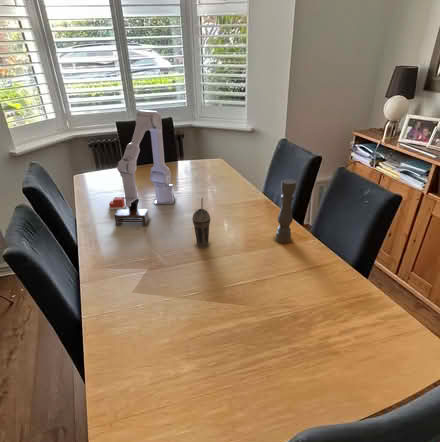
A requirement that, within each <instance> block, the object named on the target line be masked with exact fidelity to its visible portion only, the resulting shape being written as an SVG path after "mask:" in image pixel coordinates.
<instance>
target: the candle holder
mask: <svg viewBox="0 0 440 442" xmlns="http://www.w3.org/2000/svg"><path fill="white" fill-rule="evenodd" d="M296 190H297V180H295V179H293V178H284V179H282V180H281V181H280V191H281V195H280V199H281V208H280V210H279V213H278V215H277V222H278V227H277V228H276V232H275V241H276V242H278V243H280V244H287V243H290V242H291V239H292V238H291V237H292V232H291V231H292V229H291V227H290V226H291V225H292V223H293V220H294V218H293V211H292V209H293V208H292V205H293V204H292V203H293V200H294V199H295V195H294V194H295V192H296Z"/></svg>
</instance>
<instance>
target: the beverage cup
mask: <svg viewBox="0 0 440 442" xmlns="http://www.w3.org/2000/svg"><path fill="white" fill-rule="evenodd" d="M200 199H201V203H200V204H201V207H200V208H199V209H196V210H195V211H194V213H193V214H192V224H193V227H194V234H195V241H196V246H197V247H198V248H200V249H201V248H208V246H209V240H210V239H209V238H210V237H209V236H210V224H211V216H210V212H208V211H207V210H206V209H204V208H203V205H204V198H203V197H201V198H200Z"/></svg>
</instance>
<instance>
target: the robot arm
mask: <svg viewBox="0 0 440 442" xmlns="http://www.w3.org/2000/svg"><path fill="white" fill-rule="evenodd" d="M134 121H135V128H134V132H133V135H132V138H131V142H130V143H127V145H126V147H125V150H124V153H123V156H122V158H121V159H120V160H119V161H118V162H117V167H116V169H117V171H118V172H119V176H120V177H121V181H122V186H123V191H124V195H123V196H122V197H123V199H124V202H125V205H126V207H127V208H128V209H138V206H139V205H138V204H139V202H140V199H139V194H138V189H137V181H136V175H135V173H136V172H137V161H138V157H139V154H140V152H141V149H140V143H141V142H142V140H143V138H144V135H145V133H146V132H147V131H149V132H150V139H151V140H150V141H151V149H152V150H151V151H152V159H153V166H151V168H150V174H149V179H150V182H151V183H152V185H153V186H154V193H155V201H154V204H155V205H159V204H160V205H169V204H170V205H173V204H174V202H175V190H174V184H171V182H172V179H173V177H172V174H171V168H169V167H168V166H167V165H166V164H165V151H164V139H163V124H162V115H161V113H159V112H158V111H157V110H143V109H138V110H137V112H136V115H135V117H134Z"/></svg>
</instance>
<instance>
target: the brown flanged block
mask: <svg viewBox="0 0 440 442" xmlns="http://www.w3.org/2000/svg"><path fill="white" fill-rule="evenodd" d="M113 217H114V218H113V219H114V221H115V222H114V223H115V226H120V224H121V223H129V224H130V223H133V224H135V223H136V224H137V223H139V224H140V223H142V224H143V226H147V224H148V222H149V220H150V218H149V217H150V216H149V210H148V209H147V208H141V209H140V208H137V209H129V208H128V209H126V208H124V209H116V212H115V213H114V215H113Z"/></svg>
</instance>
